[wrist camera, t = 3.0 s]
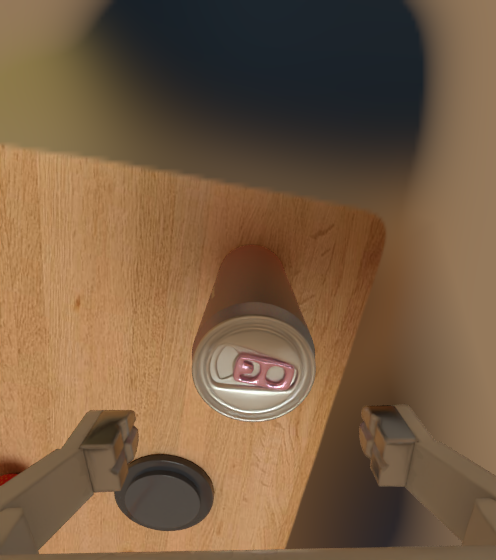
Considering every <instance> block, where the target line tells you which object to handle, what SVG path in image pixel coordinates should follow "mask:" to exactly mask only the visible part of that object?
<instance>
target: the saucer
mask: <svg viewBox="0 0 496 560" xmlns="http://www.w3.org/2000/svg"><path fill="white" fill-rule="evenodd" d="M128 471H129V472H128V474H127V476H126V479H125V481H124V484H123V486H122V488H121V491H114V494H115V499H116V503H117V505H118V507H119V508H120V509H121V511H122V512H123V513H124V514H125V515H126V516H127V517H128V518H129V519H131V520H132V521H134V522H136V523H137V524H139V525H142V526H144V527H147V528H150V529H155V530H161V531H176V530H182V529H186V528H189V527H192V526H194V525H196V524H198V523H199V522H201V521H202V520H203V519H204V518H205V517H206V516H207V515H208V513H209V512H210V510H211V507H212V504H213V498H214V490H213V485H212V483H211V481H210V479H209V477H208V476H207V474H206V473H205V472H204V471H203V470H202V469H201V468H199V467H198V466H197V465H195V464H194V463H192V462H190V461H188V460H186V459H183V458H180V457H176V456H170V455H151V456H146V457H143V458H140V459H137V460H135V461H133V462H132V463H130V464H129V465H128Z"/></svg>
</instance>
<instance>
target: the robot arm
mask: <svg viewBox="0 0 496 560" xmlns="http://www.w3.org/2000/svg"><path fill="white" fill-rule="evenodd" d="M361 415H362V418H363V420H364V421H363V422H362V423H361V425H360V429H359V435H360V443H361V446H362V449H363V451H364V454H365V455H366V456H367V457H368V458H369V459H371V466H370V467H371V470H372V472H373V474H374V476H375V478H376V481H377V483H378V485H379V486H406V489H407V490H408V491H409V492H410V493H412V494H413V495H414V496H415V497H416V498H417V499H418V500H419V501H420V502H421V503H422V504H423V505H424V506H425V507H426V508H427V509H428V510H429V511H430V512H431V513H432V514H433V515H435V516H436V517H437V518H438V519H439V520H440V521H441V522H442V523H443V524H444V525H445V526H446V527H447V528H448V529H449V530H450V531H451V532H452V533H453V534H454V535H455V536H457V537H458V538H459V539H460V540H461V541H462V545H461V546H419V547H374V548H372V547H370V548H324V549H275V550H222V551H171V552H120V553H70V554H39V552H38V550H39V549H40V548H41V547H42V546H43V545H44V544H45V543H46V542H47V541H48V540H49V539H50V538H51V537H52V536H53V535H54V534H55V533H56V532H57V531H58V530H59V529H60V528H61V527H62V526H63V525H64V524H65V523H66V522H67V521H68V520H69V519H70V518H71V517H72V516H73V515H74V514H75V513H76V512H77V510H78V509H79V508H80V507H81V506H82V505H83V504H84V503H85V502H86V501H87V500H88V499H89V498H90V497H91V496H92V495H93V494H94V493H93V492H112V491H121V488H122V486H123V484H124V481H125V479H126V476H127V474H128V472H129V471H128V466H127V464H129V463H130V462H131V461H132V460H133V459H134V457H135V454H136V452H137V447H138V438H139V435H138V429H137V428H136V427H135V426H134V422H135V420H136V417H135V412H134V411H132V410H90V411H89V412H87V413H86V414H85V416H84V417H83V419H82V420H81V421H80V423H79V424H78V426H77V427H76V429H75V430H74V431H73V433H72V434H71V436H70V437H69V438H68V440H67V441H66V443H65V444H64V446H63V447H62V448H61V449H56V450H54V451H53V452H51V453H50V454H48V455H47V456H45V457H44V458H42V459H41V460H39V461H38V462H36V463H35V464H33V465H32V466H30V467H29V468H27V469H26V470H24V471H23V472H21V473H20V474H18V475H17V476H15V477H14V478H12V479H11V480H9V481H8V482H6V483H5V484H3V485H2V486H0V560H496V476H495V475H494V474H492V473H490V472H489V471H487V470H485V469H484V468H482V467H480V466H479V465H477V464H475V463H474V462H472V461H471V460H469V459H468V458H466V457H464V456H463V455H461V454H459V453H458V452H456V451H454V450H453V449H451V448H450V447H448V446H447V445H445V444H443V443H442V442H436V441H435V440H434V438H433V437H432V436H431V434H430V433H429V432H428V430H427V429H426V428H425V427H424V425H423V424H422V422H421V421H420V420H419V418H418V417H417V416H416V415H415V413H414V412H413V411H412V409H411V408H410V407H409V406H408V405H406V404H405V405H392V406H391V405H382V406H364V407H363V408H362V413H361Z"/></svg>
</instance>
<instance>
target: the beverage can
mask: <svg viewBox="0 0 496 560" xmlns="http://www.w3.org/2000/svg"><path fill="white" fill-rule="evenodd" d="M315 372H316V365H315V349H314V344H313V340H312V337H311V335H310V332H309V330H308V327H307V325H306V323H305V320H304V318H303V315H302V313H301V310H300V308H299V305H298V303H297V300H296V298H295V295H294V293H293V290H292V288H291V285H290V283H289V280H288V278H287V275H286V273H285V270H284V268H283V265H282V263H281V261H280V260H279V258H278V257H277V256H276V255H275V254H274V253H273V252H272V251H271V250H269V249H267V248H265V247H263V246H259V245H245V246H241V247H238V248H236V249H234V250H233V251H231V252H230V253H229V254H228V255H227V256H226V257H225V259H224V260H223V262H222V264H221V267H220V269H219V272H218V275H217V278H216V281H215V284H214V286H213V289H212V292H211V295H210V298H209V301H208V303H207V306H206V309H205V312H204V315H203V318H202V320H201V323H200V326H199V329H198V332H197V334H196V337H195V340H194V344H193V348H192V377H193V381H194V384H195V387H196V389H197V391H198V393H199V394H200V396H201V397H202V399H203V400H204V401H205V402H206V403H207V404H208V405H209V406H210V407H211V408H212V409H214V410H215V411H217V412H218V413H220V414H222V415H224V416H226V417H229V418H231V419H235V420H239V421H245V422H262V421H268V420H272V419H276V418H279V417H281V416H283V415H285V414H287V413H289V412H291V411H292V410H294V409H295V408H296V407H297V406H299V405H300V404H301V403H302V402H303V400H304V399H305V398H306V397H307V395H308V393H309V392H310V390H311V388H312V385H313V383H314V379H315Z"/></svg>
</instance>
